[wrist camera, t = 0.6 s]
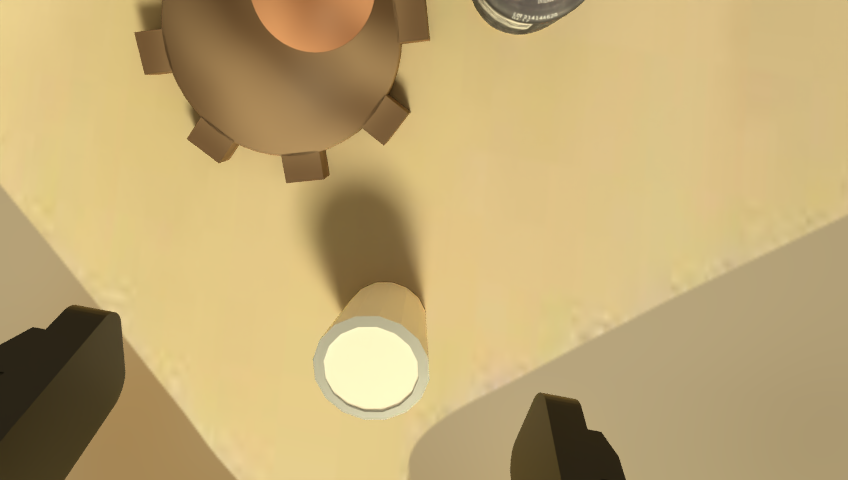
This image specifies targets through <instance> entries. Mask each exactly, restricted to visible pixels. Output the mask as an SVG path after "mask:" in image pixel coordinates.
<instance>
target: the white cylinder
mask: <svg viewBox="0 0 848 480" xmlns="http://www.w3.org/2000/svg"><path fill="white" fill-rule="evenodd" d="M313 364H314V373H315V380H316V382H317V384H318V386H319V387H320V389H321V391H322V393H323V394H324V396H325V398H326V399H327V400H329V401H330V402H331V403H332V404H333V405H335V406H336V407H337V408H338V409H340V410H341V411H342V412H344V413H347V414H350V415H352V416H355V417H358V418H361V419H364V420H386V419H389V418H392V417H395V416H397V415H400V414H403V413H406V412H407V411H408V410H409V409H410V408H411V407H412V406H414V405H415V404H416V403H417V402H418V401H419V400H420V399H421V398H422V396H423V393H424V391H425V389H426V386H427V384H428V382H429V360H428V343H427V327H426V312H425V310H424V308H423V306H422V303H421V301H420V299H419V298H418V297H417V296H416V295H415V294H414V293H412V292H411V291H410V290H409V289H408V288H406V287H404V286H401V285H398V284H396V283H393V282H376V283H373V284H371V285H369V286H366V287H364V288H362V289H361V290H360V291H359V292H358V293H357V294H356V295H355V296H354V297H353V298H352V299H351V300H350V302H349V303H348V304H347V306H346V307H345V308H344V309H343V311H342V312H341V313H340V315H339V316H338V317H337V318H336V320H335V321H334V322H333V324H332V325H331V326H330V327H329V329H328V330H327V331H326V333H325V334H324V335H323V336H322V338H321V339H320V341H319V343H318V346H317V349H316V352H315V355H314V358H313Z"/></svg>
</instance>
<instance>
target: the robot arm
mask: <svg viewBox="0 0 848 480" xmlns="http://www.w3.org/2000/svg"><path fill="white" fill-rule="evenodd" d="M124 379H125V363H124V352H123V341H122V328H121V319H120V316H119V315H118V314H117V313H116V312H111V311H105V310H100V309H94V308H88V307H84V306H77V305H72V306H69V307H68V308H66V309H65V310H64V311H63V312H62V313H61V314H60V315H59V316H58V317H57V318H56V319H55V320H54V321H53V322H52V324H51V325H50V326H49V327H48V328H47V329H46V330H45V329H40V328H34V327H32V328H30V329H29V330H27V331H25V332H23V333H21V334H19V335H18V336H16V337H14V338H12V339H10V340H8V341H7V342H4V343H3V344H1V345H0V480H65V478H66V477H67V475H68V474H69V472H70V471H71V469H72V468H73V466H74V465H75V463H76V462H77V460H78V459H79V457H80V456H81V454H82V453H83V451H84V450H85V448H86V447H87V446H88V444H89V443H90V441H91V440H92V438H93V437H94V435H95V434H96V432H97V431H98V429H99V428H100V426H101V425H102V423H103V422H104V420H105V419H106V417H107V416H108V414H109V413H110V411H111V410H112V409H113V407H114V405H115V404H116V402H117V400H118V398H119V396H120V393H121V391H122V388H123V384H124ZM510 473H511V480H626V479H625V476H624V473H623V469H622V466H621V463H620V460H619V457H618V455H617V454H616V452H615V451H614V449H613V448H612V447H611V445H610V444H609V443H608V441H607V440H606V438H605V437H604V435H603V434H602V432H598V431H593V430H588V429H587V426H586V422H585V419H584V415H583V412H582V408H581V405H580V403H579V401H578V400H576V399H572V398H566V397H561V396H556V395H550V394H545V393H538V394H537V395H536V396H535V398H534V400H533V402H532V405H531V407H530V409H529V411H528V414H527V416H526V418H525V420H524V423H523V425H522V427H521V429H520V432H519V434H518V436H517V439H516V441H515V443H514V446H513V450H512V456H511V467H510Z"/></svg>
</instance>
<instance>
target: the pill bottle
mask: <svg viewBox="0 0 848 480" xmlns="http://www.w3.org/2000/svg"><path fill="white" fill-rule="evenodd" d="M472 1H473V3H474V6H475V8H476V10H477V11H478V12H479V14H480V15H481V17H482V18H483V19H484V20H485V21H486V22H487V23H488V24H489V25H491V26H492V27H494V28H495V29H497V30H499V31H502V32H505V33H509V34H517V35H519V34H528V33H532V32H536V31H539V30H541V29H543V28H545V27H547V26H549V25H551V24H552V23H554V22H556V21H557V20H559V19H560V18H562V17H563V16H565V15H567V14H568V13H570V12H571V11H573V10H574V9H576V8H577V7H578V6H579V5H580V4H581V3H582V2H583V1H584V0H472Z"/></svg>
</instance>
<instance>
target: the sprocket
mask: <svg viewBox="0 0 848 480" xmlns="http://www.w3.org/2000/svg"><path fill="white" fill-rule="evenodd" d="M161 19H162V29H156V30H149V31H141V32H134V33H135V37H136V41H137V45H138V49H139V53H140V57H141V61H142V65H143V69H144V73H145V75H159V74H167V73H173V75H174V77H175V80H176V82H177V84H178V86H179V87H180V89H181V91H182V93H183V94H184V96H185V97H186V99H187V100H188V102H189V103H190V104H191V106H192V107H193V109H194V110H195V111H196V112H197V113H198V114H199V115H200V116H201V118H200V119H199V121H198V122H197V124H196V125H195V127H194V129H193V130H192V132H191V133H190V135H189V136H188V138H187V139H188V140H189V141H190V142H191V143H193V144H194V145H195V146H197V147H198V148H199V149H201V150H202V151H203V152H205V153H206V154H207V155H209V156H210V157H211V158H213V159H214V160H215V161H217V162H218V163H221V162H224V161H226V160H229V159H230V158H231V156H232V155H233V153H234V152H235V150H236V149H237V147H238V146H239V145H241V146H243V147H246V148H248V149H251V150H254V151H257V152H261V153H265V154H270V155H278V156H281V157H282V162H283V168H284V173H285V179H286V183H292V182H302V181H312V180H321V179H325V178H326V177H327V176H329V168H328V162H327V156H326V149H329V148H331V147H333V146H335V145H337V144H339V143H341V142H343V141H345V140H346V139H348V138H350V137H351V136H352V135H354V134H355V133H357V132H358V131H360V130H361V129H362V128H363V129H364V130H365V131H366V132H368V133H369V134H370V135H371V136H373V137H374V138H375V139H376V140H378V141H379V142H380V143H381V144H383V145H385V144H386V143H387V142H388V141H389V139H390V138H391V137H392V136H393V134H394V133H395V132H396V130H397V129H398V128H399V126H400V125H401V124H402V123H403V121H404V120H405V119H406V117H407V116H408V115H409V113H410V111H409V110H407V109H406V108H405V107H404V106H402V105H401V104H400V103H399V102H398V101H396V100H395V99H394V98H393V97H391V96H390V95H389V93H390V91H391V89H392V86H393V84H394V81H395V78H396V75H397V72H398V68H399V63H400V57H401V47H402V44H406V43H414V42H422V41H430V36H429V26H428V17H427V7H426V0H163V1H162V16H161Z"/></svg>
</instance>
